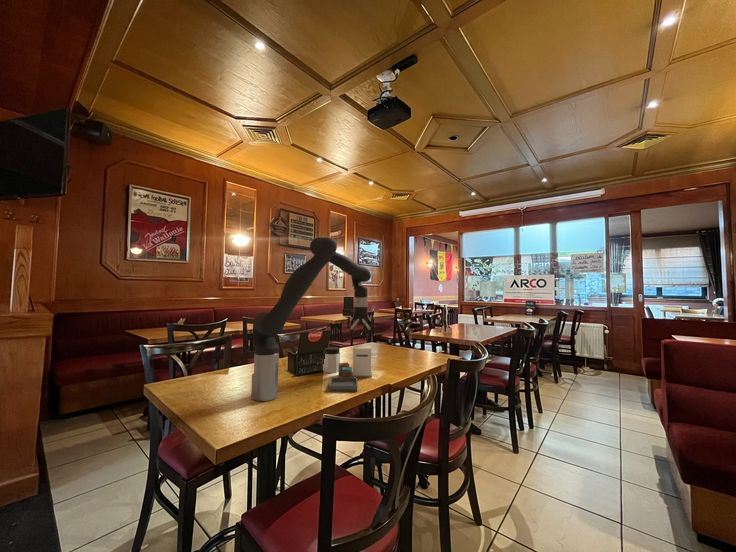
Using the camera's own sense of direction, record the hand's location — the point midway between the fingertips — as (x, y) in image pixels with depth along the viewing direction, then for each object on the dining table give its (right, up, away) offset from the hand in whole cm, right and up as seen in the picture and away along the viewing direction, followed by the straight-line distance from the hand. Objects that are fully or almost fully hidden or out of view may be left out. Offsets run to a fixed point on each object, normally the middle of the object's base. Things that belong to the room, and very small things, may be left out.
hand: (360, 336), depth 160 cm
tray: (-7, -17, -28) cm, 33 cm away
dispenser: (+1, -18, -9) cm, 20 cm away
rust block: (-8, -18, -10) cm, 22 cm away
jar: (-15, -18, -1) cm, 24 cm away
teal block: (-6, -17, -19) cm, 26 cm away
